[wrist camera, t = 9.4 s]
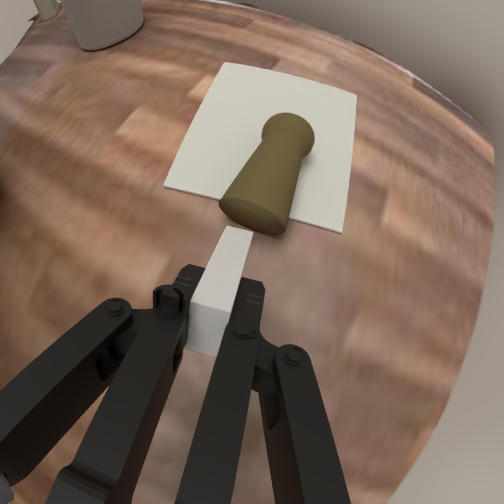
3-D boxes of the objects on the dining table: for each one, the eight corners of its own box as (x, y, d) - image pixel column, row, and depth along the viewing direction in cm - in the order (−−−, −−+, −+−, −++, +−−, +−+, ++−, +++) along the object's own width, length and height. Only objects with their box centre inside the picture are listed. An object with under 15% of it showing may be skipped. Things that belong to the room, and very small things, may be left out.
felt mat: (340, 233, 27) (342, 232, 27) (164, 187, 28) (163, 185, 27) (355, 97, 32) (356, 95, 32) (224, 64, 33) (224, 62, 32)
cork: (211, 189, 22) (263, 97, 24) (225, 220, 28) (267, 136, 30) (286, 213, 21) (325, 112, 23) (285, 241, 26) (319, 151, 29)
